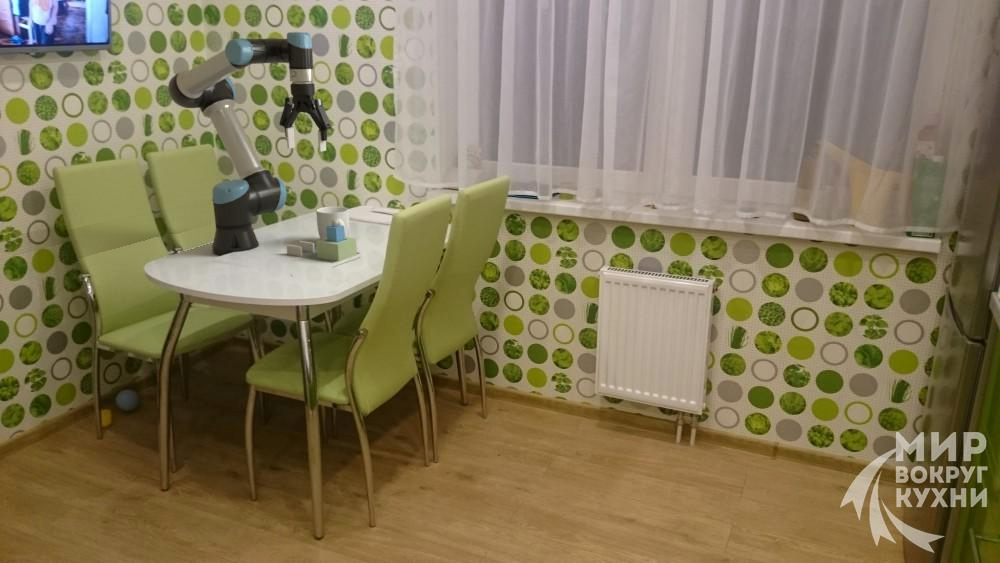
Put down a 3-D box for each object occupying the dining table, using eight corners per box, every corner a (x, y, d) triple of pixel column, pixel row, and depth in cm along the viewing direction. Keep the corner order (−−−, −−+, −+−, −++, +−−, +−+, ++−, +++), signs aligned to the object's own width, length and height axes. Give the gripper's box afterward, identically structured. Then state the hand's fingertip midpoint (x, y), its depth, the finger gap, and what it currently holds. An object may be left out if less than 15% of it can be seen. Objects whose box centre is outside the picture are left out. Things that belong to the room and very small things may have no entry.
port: (317, 257, 262) (316, 241, 261) (335, 251, 270) (334, 235, 268) (338, 261, 258) (337, 244, 256) (356, 254, 265) (356, 238, 264)
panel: (286, 258, 266) (285, 245, 265) (315, 249, 278) (314, 236, 276) (332, 267, 257) (331, 253, 255) (360, 257, 268) (360, 244, 267)
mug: (360, 250, 277) (358, 212, 273) (330, 254, 271) (327, 216, 267) (343, 240, 289) (341, 205, 285) (313, 245, 283) (311, 208, 279)
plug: (328, 256, 263) (326, 220, 259) (336, 253, 266) (334, 218, 263) (337, 258, 261) (335, 222, 258) (345, 255, 264) (343, 219, 261)
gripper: (265, 82, 260) (270, 148, 267) (324, 84, 248) (328, 153, 255) (281, 80, 267) (286, 145, 273) (340, 83, 255) (343, 150, 261)
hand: (306, 149), depth 264 cm, fingers open, 13 cm apart
